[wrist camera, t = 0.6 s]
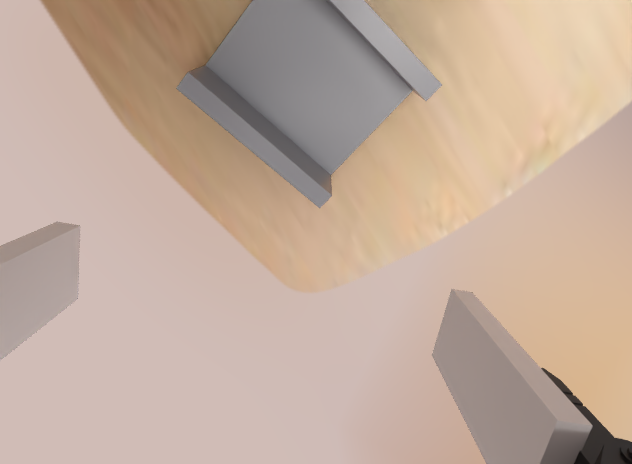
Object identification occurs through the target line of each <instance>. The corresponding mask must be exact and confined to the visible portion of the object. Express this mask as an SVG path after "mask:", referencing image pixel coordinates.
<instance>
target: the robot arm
mask: <svg viewBox="0 0 632 464" xmlns="http://www.w3.org/2000/svg"><path fill="white" fill-rule="evenodd" d="M79 248H80V226H78V225H73V224H67V223H61V222H56V223H53V224H51V225H48V226H46V227H44V228H41V229H39V230H37V231H34V232H32V233H30V234H27V235H25V236H23V237H20V238H18V239H16V240H13V241H11V242H8V243H6V244H4V245H2V246H0V360H1V359H3V358H4V357H5V356H7V355H8V354H9V353H10V352H12V351H13V350H14V349H15V348H17V347H18V346H19V345H20V344H22V343H23V342H24V341H25V340H27V339H28V338H29V337H31V336H32V335H33V334H34V333H35V332H37V331H38V330H39V329H41V328H42V327H43V326H44V325H46V324H47V323H48V322H49V321H51V320H52V319H53V318H54V317H56V316H57V315H58V314H59V313H61V312H62V311H63V310H64V309H66V308H67V307H68V306H69V305H71V304H72V303H73V302H75V301H76V300H77V299H78V278H79ZM432 356H433V358H434V360H435V362H436V364H437V366H438V368H439V370H440V372H441V374H442V376H443V378H444V380H445V382H446V384H447V386H448V388H449V390H450V392H451V394H452V396H453V398H454V400H455V402H456V404H457V406H458V408H459V410H460V412H461V414H462V416H463V418H464V420H465V422H466V424H467V426H468V428H469V430H470V432H471V434H472V436H473V438H474V440H475V442H476V444H477V446H478V448H479V450H480V452H481V454H482V456H483V458H484V459H485V462H486V464H632V442H630V441H628V440H623V439H618V438H614V437H613V436H612V434H611V433H610V432H609V431H608V430H607V429H606V428H605V427H604V426H603V425H602V424H601V423H600V422H599V421H598V420H597V419H596V417H595V416H594V415H593V414H592V413H591V412H590V411H589V410H588V409H587V408H586V407H585V406H583V404H582V402H581V401H580V400H579V399H578V398H577V397H576V396H573V393H572V392H571V391H570V390H569V389H568V388H567V386H566V385H565V384H564V383H563V382H562V381H561V380H560V379H558V378H557V377H555V376H554V375H552V374H551V373H550V372H548V371H547V370H545V369H544V368H540V367H539V366H538V365H537V364H536V363H535V361H534V360H533V359H532V358H531V357H530V356H529V355H528V354H527V352H525V350H524V349H523V348H522V347H521V346H520V345H519V344H518V343H517V341H516V340H515V339H514V338H513V337H512V336H511V335H510V334H509V333H508V331H507V330H506V329H505V328H504V327H503V326H502V325H501V324H500V323H499V322H498V321H497V319H496V318H495V317H494V316H493V315H492V314H491V313H490V312H489V310H488V309H487V308H486V307H485V306H484V305H483V304H482V303H481V302H480V301H479V299H478V298H477V297H476V296H475V295H474V294H473V293H472V292H467V291H461V290H455V289H452V290H451V293H450V297H449V300H448V303H447V307H446V310H445V313H444V317H443V320H442V323H441V327H440V330H439V333H438V337H437V340H436V344H435V347H434V350H433V354H432Z"/></svg>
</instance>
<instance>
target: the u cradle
mask: <svg viewBox="0 0 632 464" xmlns="http://www.w3.org/2000/svg"><path fill="white" fill-rule="evenodd" d="M441 86H442V84H441V83H440V82H439V81H438V80H437V79H436V78H435V77H434V76H433V74H432V73H431V72H430V71H429V70H428V69H427V68H426V67H425V66H424V65H423V64H422V63H421V61H420V60H419V59H418V58H417V57H416V56H415V55H414V54H413V53H412V52H411V51H410V50H409V48H408V47H407V46H406V45H405V44H404V43H403V42H402V41H401V40H400V39H399V38H398V37H397V35H396V34H395V33H394V32H393V31H392V30H391V29H390V28H389V27H388V26H387V25H386V24H385V22H384V21H383V20H382V19H381V18H380V17H379V16H378V15H377V14H376V13H375V12H374V10H373V9H372V8H371V7H370V6H369V5H368V4H367V3H366V2H365V1H364V0H252V2H251V3H250V4H249V6H248V7H247V9H246V10H245V11H244V13H243V14H242V16H241V17H240V18H239V20H238V21H237V22H236V24H235V25H234V27H233V28H232V29H231V31H230V32H229V33H228V35H227V36H226V38H225V39H224V40H223V42H222V43H221V44H220V46H219V47H218V49H217V50H216V51H215V53H214V54H213V55H212V57H211V58H210V60H209V61H208V62H207V64H206V65H205V66H202V67H199V68H197V69H194V70H192V71H189V72H187V74H186V75H185V77H184V78H183V79H182V81H181V82H180V84H179V85H178V86H177V88H176V89H177V90H179V91H180V92H181V93H182V94H183V95H185V96H186V97H187V98H188V99H189V100H191V101H192V102H193V103H194V104H195V105H197V106H198V107H199V108H200V109H201V110H203V111H204V112H205V113H206V114H207V115H209V116H210V117H211V118H212V119H213V120H215V121H216V122H217V123H218V124H219V125H221V126H222V127H223V128H224V129H225V130H227V131H228V132H229V133H230V134H231V135H233V136H234V137H235V138H236V139H237V140H239V141H240V142H241V143H242V144H243V145H245V146H246V147H247V148H248V149H249V150H251V151H252V152H253V153H254V154H255V155H256V156H258V157H259V158H260V159H261V160H262V161H264V162H265V163H266V164H267V165H268V166H270V167H271V168H272V169H273V170H274V171H276V172H277V173H278V174H279V175H280V176H282V177H283V178H284V179H285V180H286V181H288V182H289V183H290V184H291V185H292V186H294V187H295V188H296V189H297V190H298V191H300V192H301V193H302V194H303V195H304V196H306V197H307V198H308V199H309V200H310V201H312V202H313V203H314V204H315V205H316V206H318V207H319V208H320V207H321V206H322V205H323V204H324V203H325V202H326V201H327V200H328V199H329V198H330V197H331V196H332V186H331V174H332V173H333V172H334V171H335V170H336V169H337V168H338V167H339V166H340V165H341V164H342V163H343V162H344V161H345V160H346V159H347V158H348V157H349V156H350V155H351V154H352V153H353V152H354V151H355V150H356V149H357V148H358V147H359V146H360V144H361V143H362V142H363V141H364V140H365V139H366V138H367V137H368V136H369V135H370V134H371V133H372V132H373V131H374V130H375V129H376V128H377V127H378V126H379V125H380V124H381V123H382V122H383V121H384V120H385V119H386V118H387V117H388V116H389V115H390V114H391V112H392V111H393V110H394V109H395V108H396V107H397V106H398V105H399V104H400V103H401V102H402V101H403V100H404V99H405V98H406V97H407V96H408V95H409V94H410V93H411V92H412V91H414V92H415V93H416V94H418V95H419V96H420V97H422V98H423V99H424V100H425V101H427V100H428V99H429V98H430V97H431V96H432V95H433V94H434V93H435V92H436V91H437V90H438V89H439V88H440V87H441Z"/></svg>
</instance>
